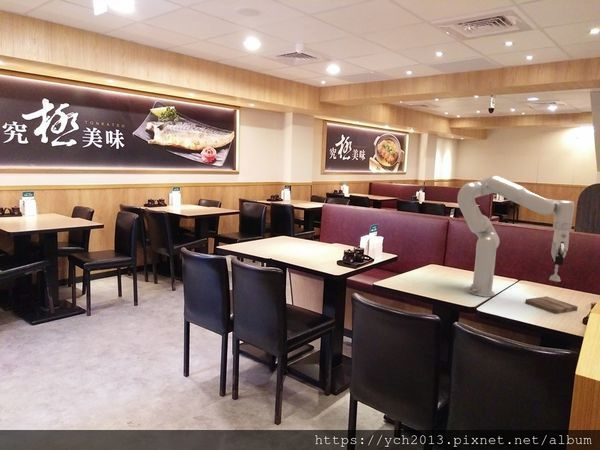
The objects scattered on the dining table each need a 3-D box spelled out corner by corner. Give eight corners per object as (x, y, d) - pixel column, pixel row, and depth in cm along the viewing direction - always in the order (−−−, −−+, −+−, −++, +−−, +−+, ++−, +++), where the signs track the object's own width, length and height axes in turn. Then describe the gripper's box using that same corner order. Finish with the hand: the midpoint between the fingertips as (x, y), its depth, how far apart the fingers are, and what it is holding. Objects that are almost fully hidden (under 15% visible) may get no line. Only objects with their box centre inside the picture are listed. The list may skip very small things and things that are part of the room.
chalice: (560, 278, 210) (565, 243, 207) (565, 282, 203) (571, 245, 201) (544, 277, 211) (548, 241, 209) (549, 281, 205) (554, 244, 202)
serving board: (555, 314, 199) (556, 309, 199) (525, 303, 213) (525, 299, 213) (577, 310, 206) (577, 306, 206) (546, 300, 220) (546, 296, 220)
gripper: (576, 229, 194) (570, 268, 197) (566, 224, 210) (561, 260, 213) (557, 227, 197) (552, 266, 199) (549, 223, 213) (544, 258, 216)
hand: (557, 262), depth 206 cm, fingers closed on chalice, 5 cm apart
